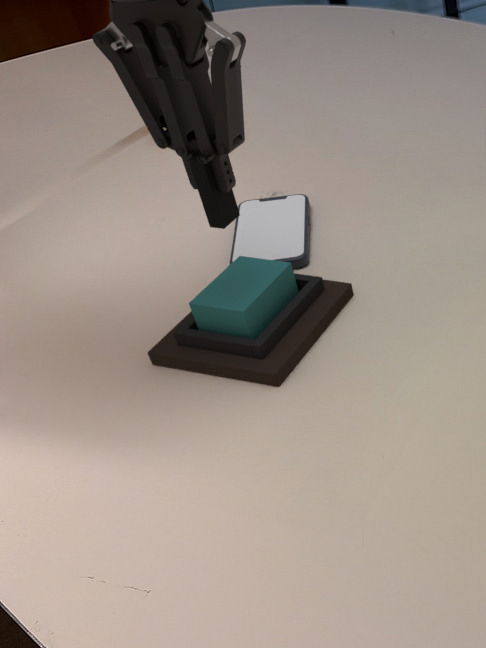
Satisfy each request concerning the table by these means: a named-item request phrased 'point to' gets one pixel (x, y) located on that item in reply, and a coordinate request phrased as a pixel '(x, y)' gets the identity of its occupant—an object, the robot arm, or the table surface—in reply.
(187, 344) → the dark brown tray
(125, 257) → the table surface
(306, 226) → the smartphone
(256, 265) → the teal block
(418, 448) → the table surface
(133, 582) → the table surface
